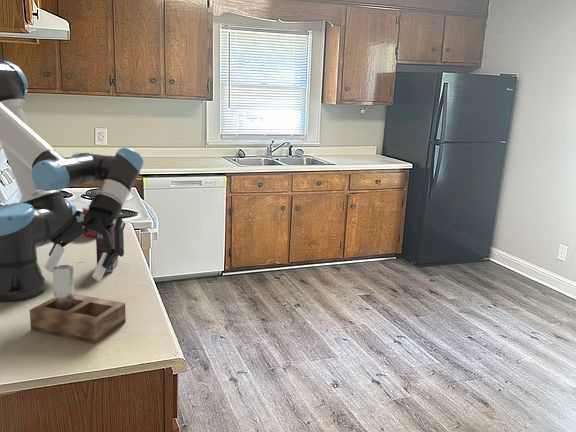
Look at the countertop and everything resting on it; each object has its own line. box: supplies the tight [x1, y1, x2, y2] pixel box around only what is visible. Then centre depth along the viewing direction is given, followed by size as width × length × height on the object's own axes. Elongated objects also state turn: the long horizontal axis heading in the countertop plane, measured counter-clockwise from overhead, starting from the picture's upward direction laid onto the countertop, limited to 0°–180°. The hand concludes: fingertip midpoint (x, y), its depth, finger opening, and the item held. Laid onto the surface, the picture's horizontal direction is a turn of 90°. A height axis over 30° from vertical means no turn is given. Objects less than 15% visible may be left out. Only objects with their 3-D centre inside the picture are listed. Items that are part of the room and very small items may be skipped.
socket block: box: [29, 293, 127, 344], centre depth 125 cm, size 17×12×5 cm
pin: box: [52, 264, 75, 311], centre depth 124 cm, size 4×4×13 cm
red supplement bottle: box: [82, 204, 96, 238], centre depth 197 cm, size 8×8×11 cm
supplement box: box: [95, 226, 119, 273], centre depth 163 cm, size 9×5×16 cm, turn 6°
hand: (71, 274), depth 125 cm, fingers open, 13 cm apart
